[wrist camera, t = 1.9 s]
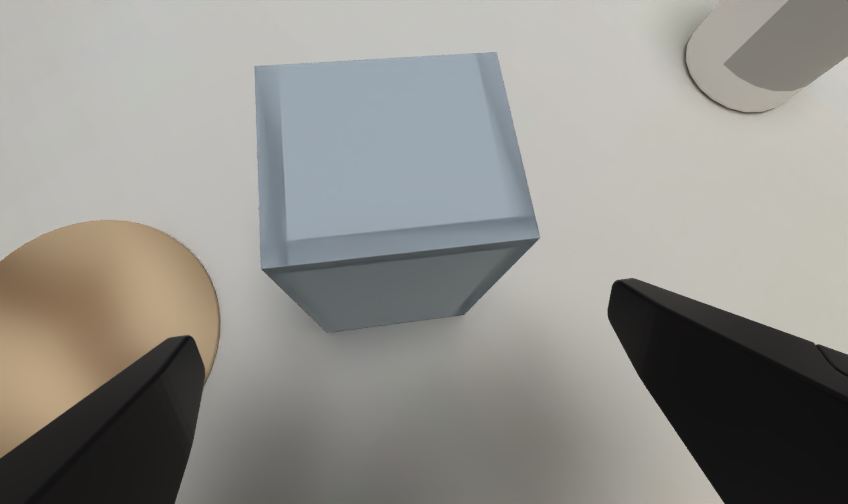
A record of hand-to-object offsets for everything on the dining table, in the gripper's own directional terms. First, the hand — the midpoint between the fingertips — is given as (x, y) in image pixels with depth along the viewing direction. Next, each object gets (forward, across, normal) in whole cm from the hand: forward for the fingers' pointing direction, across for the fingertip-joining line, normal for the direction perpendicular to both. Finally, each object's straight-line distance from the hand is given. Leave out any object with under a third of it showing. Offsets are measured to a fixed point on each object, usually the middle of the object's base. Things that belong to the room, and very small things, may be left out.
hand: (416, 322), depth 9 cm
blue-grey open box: (+11, 0, +5) cm, 12 cm away
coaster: (+10, +14, +6) cm, 18 cm away
